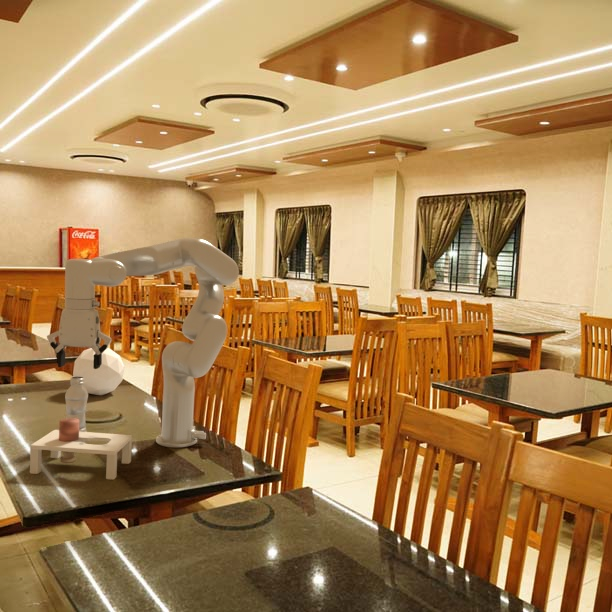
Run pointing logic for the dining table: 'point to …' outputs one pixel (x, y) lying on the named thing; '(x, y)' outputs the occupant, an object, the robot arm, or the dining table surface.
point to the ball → (99, 371)
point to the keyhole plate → (83, 449)
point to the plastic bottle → (77, 402)
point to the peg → (68, 436)
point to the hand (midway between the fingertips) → (79, 367)
